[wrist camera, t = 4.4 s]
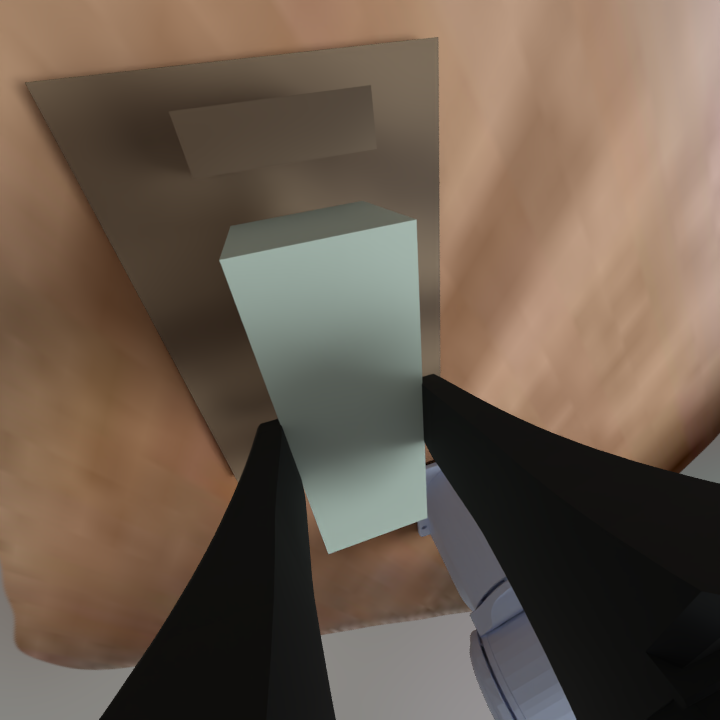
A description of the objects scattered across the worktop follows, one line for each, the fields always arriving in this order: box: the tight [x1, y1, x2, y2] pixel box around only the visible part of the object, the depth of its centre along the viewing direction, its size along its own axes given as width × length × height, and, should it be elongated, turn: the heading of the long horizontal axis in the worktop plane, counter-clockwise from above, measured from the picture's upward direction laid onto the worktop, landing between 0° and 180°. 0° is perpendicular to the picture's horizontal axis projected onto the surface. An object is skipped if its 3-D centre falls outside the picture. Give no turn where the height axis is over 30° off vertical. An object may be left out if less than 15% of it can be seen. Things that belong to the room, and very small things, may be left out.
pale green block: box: [219, 201, 427, 554], centre depth 11 cm, size 11×4×4 cm, turn 8°
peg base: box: [25, 37, 440, 482], centre depth 15 cm, size 20×14×6 cm
